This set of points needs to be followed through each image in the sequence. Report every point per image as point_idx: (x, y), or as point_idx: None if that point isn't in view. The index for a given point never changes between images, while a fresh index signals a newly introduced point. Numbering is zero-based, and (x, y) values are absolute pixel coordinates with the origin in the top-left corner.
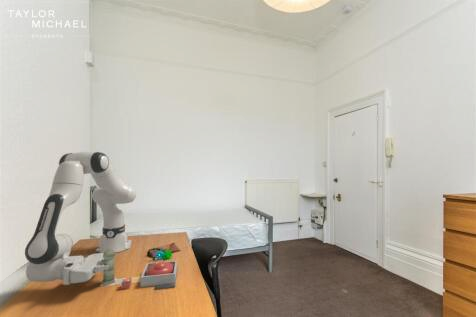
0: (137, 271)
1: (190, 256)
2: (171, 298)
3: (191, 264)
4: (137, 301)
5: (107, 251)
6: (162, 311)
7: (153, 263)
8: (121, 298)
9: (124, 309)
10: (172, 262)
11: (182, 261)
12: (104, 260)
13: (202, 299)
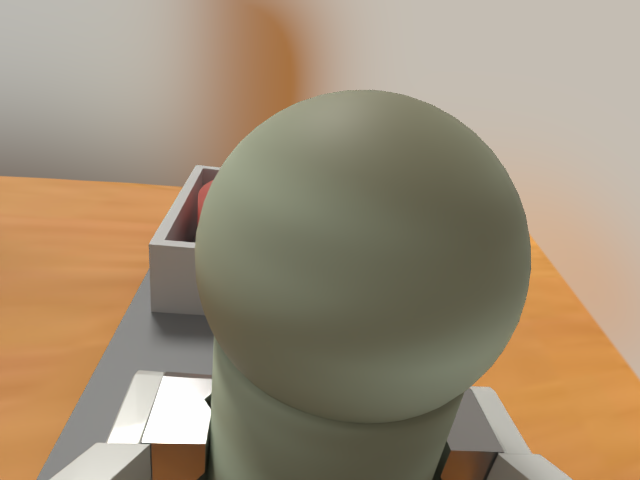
0: (24, 395)
1: (14, 177)
2: None
3: (140, 188)
4: (523, 343)
5: (477, 136)
6: (553, 273)
7: (174, 222)
8: (525, 428)
9: (620, 387)
10: (199, 179)
11: (64, 201)
12: (456, 407)
13: None
